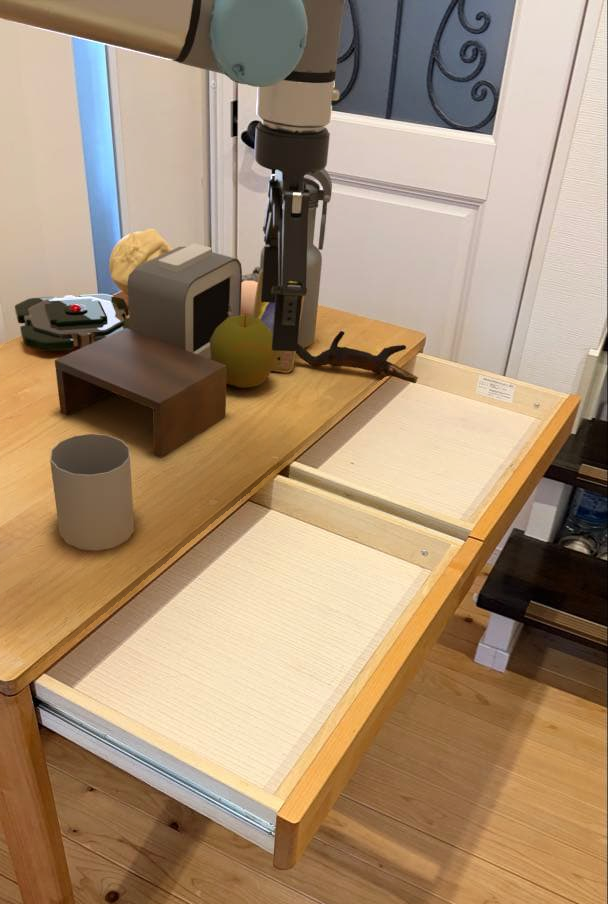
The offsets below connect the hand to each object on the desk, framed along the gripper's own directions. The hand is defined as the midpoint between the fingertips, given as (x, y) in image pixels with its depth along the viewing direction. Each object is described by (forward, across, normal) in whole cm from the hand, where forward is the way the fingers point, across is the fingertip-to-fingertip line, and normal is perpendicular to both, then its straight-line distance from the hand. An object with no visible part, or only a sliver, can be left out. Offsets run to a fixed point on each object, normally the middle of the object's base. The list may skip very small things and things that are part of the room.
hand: (277, 324), depth 95 cm
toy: (+15, +30, -17) cm, 37 cm away
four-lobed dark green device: (+20, +40, +27) cm, 53 cm away
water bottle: (+19, +39, -7) cm, 44 cm away
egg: (+14, +50, 0) cm, 52 cm away
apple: (+20, +23, +2) cm, 30 cm away
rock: (+20, +54, -7) cm, 58 cm away
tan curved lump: (+17, +56, +14) cm, 61 cm away
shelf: (+20, +13, +16) cm, 29 cm away
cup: (+20, -13, +21) cm, 32 cm away
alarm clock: (+20, +34, +10) cm, 41 cm away
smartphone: (+5, +33, -5) cm, 34 cm away
